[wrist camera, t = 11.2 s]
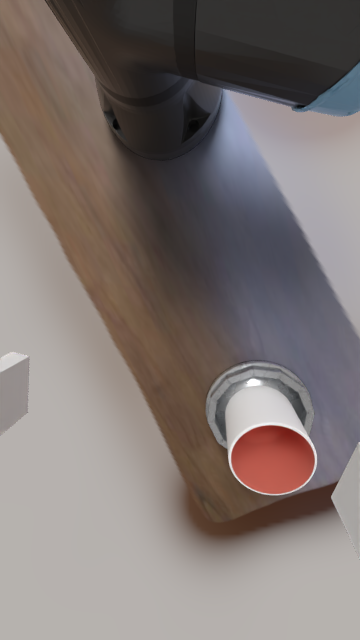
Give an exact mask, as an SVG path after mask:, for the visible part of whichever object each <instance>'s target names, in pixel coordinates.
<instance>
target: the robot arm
mask: <svg viewBox="0 0 360 640" xmlns="http://www.w3.org/2000/svg"><path fill="white" fill-rule="evenodd" d="M45 1H46V3H47V4H48V6H49V7H50V9H51V10H52V12H53V13H54V15H55V16H56V18H57V20H58V21H59V23H60V24H61V26H62V27H63V29H64V30H65V32H66V33H67V35H68V36H69V38H70V39H71V41H72V42H73V44H74V45H75V47H76V48H77V50H78V51H79V53H80V54H81V56H82V57H83V59H84V60H85V62H86V63H87V65H88V66H89V68H90V69H91V71H92V72H93V74H94V76H95V81H96V86H97V91H98V96H99V101H100V105H101V108H102V111H103V113H104V116H105V118H106V120H107V122H108V124H109V125H110V127H111V129H112V130H113V132H114V133H115V134H116V135H117V137H118V138H119V139H120V141H121V142H122V143H123V144H124V145H125V146H126V147H127V148H129V149H130V150H131V151H133V152H134V153H136V154H138V155H140V156H142V157H145V158H148V159H154V160H167V159H172V158H175V157H178V156H181V155H183V154H185V153H187V152H188V151H190V150H191V149H193V148H194V147H195V146H196V145H197V144H199V143H200V142H201V140H202V139H203V138H204V137H205V136H206V134H207V133H208V131H209V130H210V128H211V127H212V125H213V123H214V121H215V119H216V116H217V113H218V110H219V107H220V102H221V96H222V88H223V89H227V90H230V91H234V92H238V93H242V94H245V95H249V96H253V97H256V98H260V99H264V100H267V101H272V102H275V103H278V104H282V105H286V106H290V107H291V108H292V110H293V111H296V112H305V111H313V112H318V113H323V114H328V115H333V116H348V115H352V114H354V113H356V112H358V111H360V0H45ZM28 383H29V356H26V355H23V354H19V353H15V352H11V353H9V354H7V355H5V356H3V357H1V358H0V436H1V435H2V434H3V433H4V432H5V431H7V430H8V429H9V428H10V427H11V426H12V425H13V424H15V423H16V422H17V421H18V420H19V419H21V418H22V417H23V416H24V415H25V414H26V413H27V411H28ZM331 499H332V501H333V503H334V505H335V507H336V510H337V511H338V514H339V516H340V518H341V520H342V522H343V525H344V527H345V529H346V531H347V533H348V535H349V537H350V540H351V542H352V544H353V546H354V548H355V550H356V553H357V555H358V557H359V559H360V443H358V445H357V447H356V449H355V451H354V453H353V455H352V457H351V459H350V460H349V462H348V464H347V466H346V468H345V470H344V472H343V474H342V476H341V478H340V480H339V482H338V484H337V486H336V488H335V491H334V492H333V494H332V496H331Z"/></svg>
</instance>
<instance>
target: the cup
mask: <svg viewBox="0 0 360 640" xmlns="http://www.w3.org/2000/svg"><path fill="white" fill-rule="evenodd" d="M225 422H226V435H227V448H228V460H229V465H230V468H231V471H232V473H233V474H234V476H235V477H236V478H237V480H238V481H239V482H240V483H241V484H243V485H244V486H245V487H247V488H249V489H250V490H252V491H255V492H257V493H261V494H266V495H283V494H288V493H291V492H294V491H296V490H298V489H300V488H301V487H303V486H304V485H305V484H306V483H307V482H308V481H309V480H310V479H311V478H312V476H313V474H314V472H315V470H316V466H317V454H316V450H315V447H314V445H313V443H312V441H311V440H310V438H309V436H308V434H307V432H306V430H305V429H304V427H303V425H302V423H301V421H300V419H299V418H298V416H297V414H296V412H295V410H294V408H293V407H292V405H291V403H290V401H289V400H288V399H287V398H286V397H285V396H284V395H283V394H282V393H281V392H279V391H278V390H276V389H274V388H271V387H268V386H261V385H256V386H249V387H246V388H244V389H242V390H240V391H238V392H237V393H236V394H234V395H233V396H232V398H231V399H230V400H229V402H228V404H227V407H226V411H225Z"/></svg>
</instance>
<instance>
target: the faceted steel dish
mask: <svg viewBox="0 0 360 640" xmlns="http://www.w3.org/2000/svg"><path fill="white" fill-rule="evenodd" d="M256 385H261V386H268V387H271V388H274V389H276V390H278V391H279V392H281V393H282V394H283V395H284V396H285V397H286V398H287V399H288V400H289V401H290V403H291V405H292V407H293V408H294V410H295V412H296V414H297V416H298V418H299V419H300V421H301V423H302V425H303V427H304V429H305V430H306V432H307V434H308V436H309V435H310V431H311V426H312V422H313V418H314V414H315V413H314V410H313V407H312V401H311V398H310V394H309V392H308V390H307V388H306V387H305V386H304V384H303V383H302V381H301V380H300V379H299V378H298V377H297V376H296V375H295V374H294V373H293V372H291V371H290V370H288V369H287V368H285V367H283V366H281V365H279V364H276V363H273V362H268V361H258V360H257V361H247V362H242V363H239V364H236V365H234V366H232V367H230V368H228V369H227V370H225V371H224V372H222V373H221V374H220V375H219V376H218V377H217V378H216V379H215V381H214V382H213V383H212V385H211V387H210V389H209V392H208V394H207V399H206V416H207V420H208V423H209V426H210V428H211V430H212V431H213V433H214V436H215V438H216V440H217V442H218V443H219V444H220V445H222V446H223V447H225V448H226V449H228V448H227V435H226V422H225V411H226V407H227V404H228V402H229V400H230V399H231V398H232V396H233V395H234V394H236V393H237V392H238V391H240V390H242V389H244V388H246V387H249V386H256Z"/></svg>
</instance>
